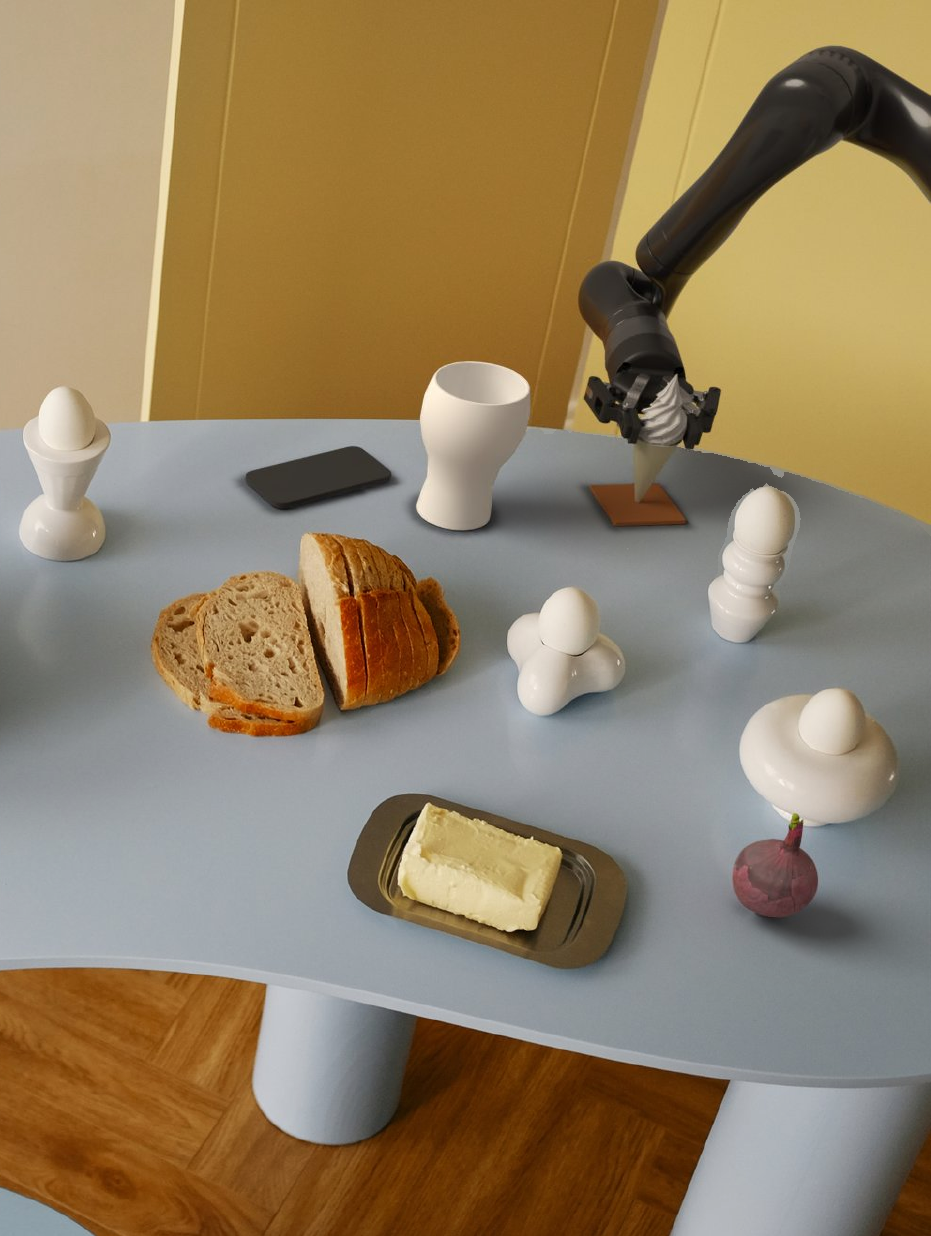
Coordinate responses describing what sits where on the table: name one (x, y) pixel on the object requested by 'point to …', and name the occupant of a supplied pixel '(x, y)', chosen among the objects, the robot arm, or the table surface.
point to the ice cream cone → (658, 436)
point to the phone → (317, 476)
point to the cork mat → (637, 505)
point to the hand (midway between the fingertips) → (663, 438)
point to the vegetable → (776, 875)
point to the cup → (469, 439)
